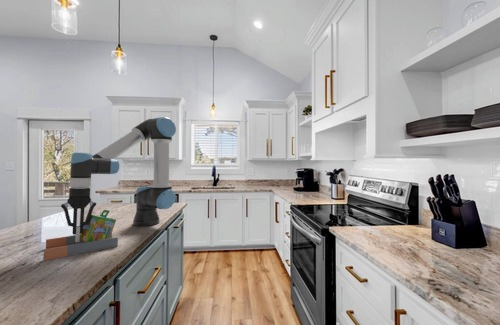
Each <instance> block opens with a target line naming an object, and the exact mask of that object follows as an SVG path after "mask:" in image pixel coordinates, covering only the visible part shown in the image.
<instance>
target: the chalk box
mask: <svg viewBox="0 0 500 325" xmlns="http://www.w3.org/2000/svg"><path fill="white" fill-rule="evenodd" d="M109 213H110V210H109V209H104V210H103V211H102V212H101V213H100V215H94V214H91V217H90V220H89V223H88V224H86V225H84V226H83V233H81V234H80V238H79V240H81V241H84V242H91V241H97V240H103V239H109V238H110V236H111V234H112V235H113V230H114V228H115V224H116V222H117V219H116V218H113V217H109V216H108V214H109Z"/></svg>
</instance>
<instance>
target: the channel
mask: <svg viewBox="0 0 500 325" xmlns="http://www.w3.org/2000/svg"><path fill="white" fill-rule="evenodd" d="M75 237H76V234H72V235H68V236H60V237H54V238H46V239H45V249H44V250H43V251H44V254H43V256H44V257H43V260H44V261H47V260H53V259H54V260H55V259H58V258H64V257H68V256H73V255H79V254H84V253H90V252H95V251H99V250H100V251H101V250H105V249H110V248H116V247H118V246H119V245H118V244H119V243H118V242H119V241H118V239H119V237H118V236H117V237H116V236H115V237H113V233H112V234H111V236H110V238H109V239H103V240H97V241H91V242H84V241H81V240H79V242H75Z"/></svg>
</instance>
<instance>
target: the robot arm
mask: <svg viewBox="0 0 500 325" xmlns="http://www.w3.org/2000/svg"><path fill="white" fill-rule="evenodd" d="M176 132H177V128H176V124H175V122H174V121H173V120H172V119H171V118H169V117H164V116H163V117H156V118H155V117H154V118H148V119H146V120H144V121H142V122H141V123H139V124H138V125H136V126H135V127H133V128H132V129H131V131H130V132H128V133H127V134H125V135H124V136H122V137H120V138H119V139H117V140H116V141H114V142H112V143H110V144H109V145H107V146H106V147H104V148H103V149H101V150H100V151H98V152H96V153H95V154H92V153H91V152H73V153H72V154H71V158H70V174H69V175H70V176H69V187H70V188H69V190H68V191H69V194H68V199H67V200H66V202H64V203H61V205H60V207H61V208H62V210H63V213H64V216H65V219H66V223H67V226H68V227H72V235H76V237H75V242H79V238H80V234H81V233H83V226H84V225H86V224H88V223H89V220H90V217H91V215H93V211H94V208H95V207H96V206H97V203H96V201H93V200H92V198H91V188H90V187H91V185H92V184H91V182H92V175H115V174H116V175H117V174H118V173H119V171H120V162H119V161H118V160H117V159H118V157H120V156H122V155H124V154H125V153H127V152H128V151H129V150H130V149H131V148H133V147H135V146H136V145H138V144H140V143H143V142H145V141H146V140H151V142H152V143H153V184H152V185H149V186H147V185H146V186H140V187H137V189H136V192H135V195H136V199H135V200H136V203H135V204H136V205H135V206H136V210H135V214H134V218H133V219H132V225H133V226H135V227H147V226H148V227H149V226H154V225H157V224H159V223H160V216H159V214H158V210H169V209H170V208H172V207H173V205H174V204H175V202H176V198H177V197H176V196H177V195H176V193H175V191H174V190H173V188H172V185H171V183H170V143H171V142H172V141H173V137H174V135H175V134H176ZM88 205H89V209H88V211H87V215H86V217H85V208H87V206H88ZM69 206H70V207H71V208H72V209H73V212H72V213H73V214H72V216H73V217H72V221H71V217H70V216H71V215H70V213H69V210H68V207H69ZM79 209H80V212H79V213H80V215H79V225H78V210H79ZM157 209H158V210H157Z"/></svg>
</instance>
